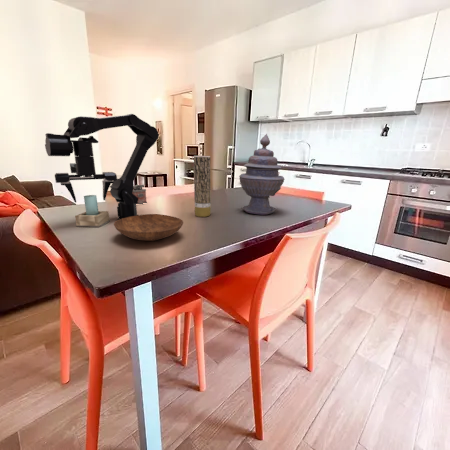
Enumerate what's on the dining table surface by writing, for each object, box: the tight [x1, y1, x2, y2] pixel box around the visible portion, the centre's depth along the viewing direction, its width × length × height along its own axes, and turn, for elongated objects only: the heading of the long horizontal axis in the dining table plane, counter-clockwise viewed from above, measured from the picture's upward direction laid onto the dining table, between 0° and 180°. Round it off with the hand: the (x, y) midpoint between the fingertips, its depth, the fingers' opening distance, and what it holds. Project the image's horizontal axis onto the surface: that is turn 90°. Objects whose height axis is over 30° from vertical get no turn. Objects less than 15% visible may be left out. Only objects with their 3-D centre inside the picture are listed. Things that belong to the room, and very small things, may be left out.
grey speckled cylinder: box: [193, 155, 212, 218], centre depth 102 cm, size 7×7×25 cm
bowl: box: [113, 213, 184, 242], centre depth 77 cm, size 20×22×5 cm
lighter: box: [133, 184, 148, 205], centre depth 126 cm, size 8×3×10 cm, turn 143°
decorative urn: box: [238, 133, 285, 216], centre depth 110 cm, size 20×20×35 cm
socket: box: [74, 210, 111, 228], centre depth 90 cm, size 8×8×4 cm
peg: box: [83, 194, 99, 215], centre depth 89 cm, size 4×4×10 cm
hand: (90, 201), depth 88 cm, fingers open, 9 cm apart
